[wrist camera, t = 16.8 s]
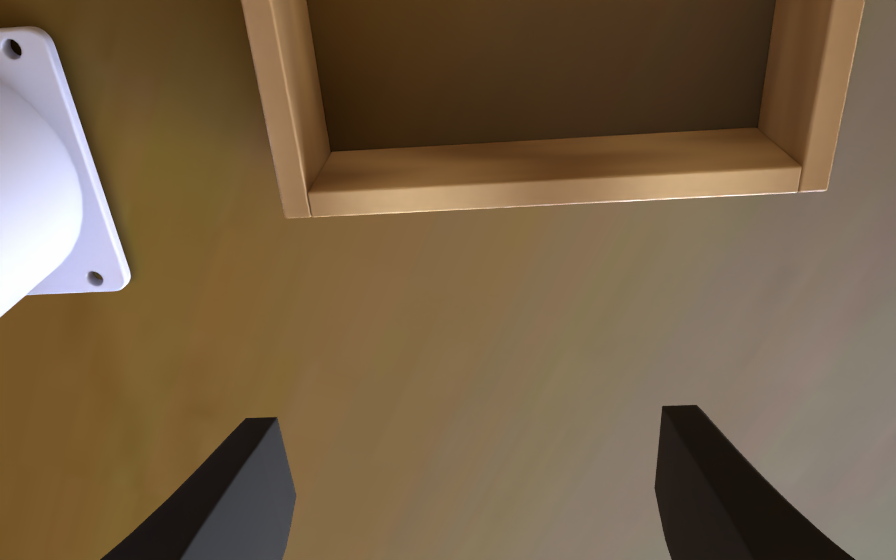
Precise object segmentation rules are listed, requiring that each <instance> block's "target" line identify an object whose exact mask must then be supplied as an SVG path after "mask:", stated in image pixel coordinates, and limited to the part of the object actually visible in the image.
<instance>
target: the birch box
mask: <svg viewBox="0 0 896 560" xmlns="http://www.w3.org/2000/svg"><path fill="white" fill-rule="evenodd" d="M241 4H242V9H243V13H244V18H245V23H246V28H247V33H248V38H249V43H250V48H251V53H252V58H253V63H254V68H255V73H256V78H257V83H258V88H259V93H260V97H261V102H262V107H263V112H264V117H265V122H266V127H267V132H268V137H269V142H270V147H271V152H272V157H273V162H274V167H275V172H276V176H277V181H278V186H279V191H280V196H281V201H282V206H283V211H284V216H285V218H305V217H311V215H312V217H326V216H346V215H366V214H385V213H405V212H425V211H445V210H465V209H484V208H504V207H524V206H544V205H564V204H583V203H603V202H623V201H643V200H663V199H682V198H702V197H722V196H742V195H762V194H781V193H796V192H797V191H798V192H816V191H826V190H827V189H828V184H829V179H830V174H831V169H832V164H833V159H834V154H835V149H836V144H837V139H838V134H839V129H840V124H841V119H842V114H843V109H844V104H845V99H846V94H847V89H848V84H849V79H850V74H851V69H852V64H853V59H854V54H855V49H856V44H857V39H858V34H859V29H860V24H861V19H862V14H863V9H864V4H865V0H776V4H775V11H774V18H773V25H772V32H771V39H770V46H769V53H768V60H767V67H766V74H765V81H764V88H763V95H762V102H761V109H760V116H759V123H758V128H756V127H755V128H737V129H720V130H703V131H685V132H668V133H650V134H633V135H616V136H598V137H581V138H563V139H546V140H529V141H511V142H494V143H476V144H459V145H442V146H424V147H407V148H389V149H372V150H355V151H337V152H331V151H330V145H329V139H328V133H327V127H326V120H325V114H324V108H323V102H322V95H321V89H320V83H319V77H318V70H317V64H316V58H315V52H314V45H313V39H312V33H311V27H310V20H309V14H308V8H307V2H306V0H241Z"/></svg>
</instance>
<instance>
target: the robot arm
mask: <svg viewBox="0 0 896 560" xmlns="http://www.w3.org/2000/svg"><path fill="white" fill-rule="evenodd" d="M11 39H12V40H14V41H16V42H17V43H18V44H19V46H20V47H21V51H22V54H21V56H19V55H17V54H16V53H15V52H14V51H13V50H12V48H11V44H10V41H11ZM93 271H94V272H97V273H99V274H100V275H101V276H102V278H103V280H101V279H98V278H96V277H95V276H94V274H93ZM130 278H131V275H130V270H129V267H128V264H127V261H126V258H125V255H124V252H123V249H122V246H121V243H120V240H119V237H118V234H117V231H116V228H115V225H114V222H113V219H112V216H111V213H110V210H109V207H108V204H107V201H106V198H105V195H104V192H103V189H102V186H101V183H100V180H99V177H98V174H97V171H96V168H95V165H94V162H93V159H92V156H91V153H90V150H89V147H88V144H87V141H86V138H85V135H84V132H83V129H82V126H81V123H80V120H79V117H78V114H77V111H76V108H75V105H74V102H73V99H72V96H71V93H70V90H69V87H68V84H67V81H66V78H65V75H64V71H63V68H62V65H61V62H60V59H59V56H58V53H57V50H56V47H55V44H54V42H53V40H52V39H51V37H50V36H49V35H48V34H47V33H46V32H45V31H44V30H42V29H40V28H38V27H34V26H24V27H10V28H0V317H1V316H2V315H3V314H4V313H6V312H7V311H8V310H9V309H10V308H11V307H12V306H14V305H15V304H16V303H17V302H18V301H19V300H20V299H22V298H23V297H24V296H25V295H34V294H57V293H80V292H103V291H117V290H121V289H122V288H124V287H125V286H126V285H127V283H128V282H129V280H130ZM655 492H656V497H657V502H658V507H659V512H660V517H661V522H662V527H663V531H664V536H665V540H666V544H667V547H668V550H669V553H670V556H671V559H672V560H855V559H854V558H852V557H851V556H850V555H849V554H847V553H846V552H845V551H844V550H842V549H841V548H840V547H839V546H837V545H836V544H835V543H834V542H832V541H831V540H830V539H829V538H828V537H827V536H826V535H824V534H823V533H822V532H821V531H820V530H819V529H817V528H816V527H815V526H814V525H813V524H812V523H811V522H810V521H809V520H808V519H806V518H805V517H804V516H803V515H802V514H801V513H800V512H799V511H798V510H797V509H796V508H794V507H793V506H792V505H791V504H790V503H789V502H788V501H787V500H786V499H785V498H784V497H783V496H782V495H781V494H780V493H779V492H778V491H777V490H776V489H775V488H774V487H773V486H772V485H771V484H770V483H769V482H768V481H767V480H766V479H765V478H764V477H763V476H762V475H761V474H760V473H759V472H758V471H757V470H756V469H755V468H754V467H753V466H752V465H751V464H750V463H749V462H748V461H747V459H746V458H745V457H744V456H743V455H742V454H741V453H740V452H739V451H738V450H737V449H736V448H735V447H734V445H733V444H732V443H731V442H730V441H729V440H728V439H727V438H726V437H725V436H724V434H723V433H722V432H721V431H720V430H719V429H718V428H717V427H716V425H715V424H714V423H713V422H712V421H711V420H710V419H709V417H708V416H707V415H706V414H705V413H704V412H703V411H702V410H701V409H700V408H699V407H698V406H697V405H683V406H662V416H661V426H660V437H659V448H658V458H657V469H656V480H655ZM295 500H296V492H295V488H294V484H293V480H292V476H291V472H290V468H289V464H288V460H287V456H286V452H285V448H284V444H283V439H282V435H281V431H280V427H279V423H278V419H277V417H268V418H246V419H245V420H244V421H243V422H242V423H241V424H240V425H239V426H238V427H237V428H236V429H235V430H234V431H233V432H232V433H231V434H230V435H229V436H228V437H227V438H226V439H225V440H224V441H223V443H222V444H221V445H220V446H219V447H218V448H217V449H216V450H215V451H214V452H213V453H212V454H211V455H210V456H209V457H208V458H207V459H206V460H205V462H204V463H203V464H202V465H201V466H200V467H199V468H198V469H197V470H196V471H195V472H194V473H193V474H192V475H191V476H190V477H189V478H188V479H187V480H186V481H185V482H184V483H183V484H182V485H181V486H180V487H179V488H178V489H177V490H176V491H175V492H174V493H173V494H172V495H171V496H170V497H169V498H168V499H167V500H166V501H165V502H164V503H163V504H162V505H161V506H160V507H159V508H158V509H157V510H156V511H154V512H153V513H152V514H151V515H150V516H149V517H148V518H147V519H146V520H145V521H144V522H143V523H142V524H141V525H139V526H138V527H137V528H136V529H135V530H134V531H133V532H132V533H131V534H130V535H129V536H128V537H126V538H125V539H124V540H123V541H122V542H121V543H120V544H118V545H117V546H116V547H115V548H114V549H112V550H111V551H110V552H109V553H108V554H106V555H105V556H104V557H103V558H101V559H100V560H282V559H283V555H284V552H285V549H286V546H287V541H288V536H289V531H290V527H291V522H292V516H293V511H294V505H295Z"/></svg>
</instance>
